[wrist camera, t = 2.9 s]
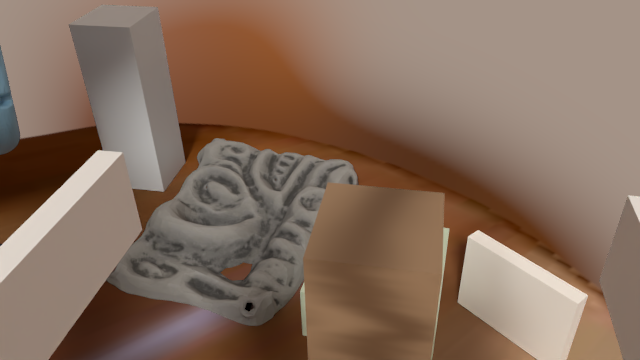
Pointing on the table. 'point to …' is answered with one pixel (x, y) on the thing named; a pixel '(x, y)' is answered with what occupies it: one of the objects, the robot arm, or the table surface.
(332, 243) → the walnut block
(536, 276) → the card
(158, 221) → the wall plaque
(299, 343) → the table surface
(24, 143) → the table surface
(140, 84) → the grey plastic block
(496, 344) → the table surface
